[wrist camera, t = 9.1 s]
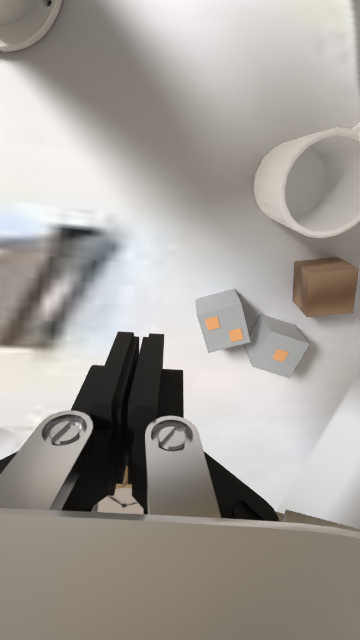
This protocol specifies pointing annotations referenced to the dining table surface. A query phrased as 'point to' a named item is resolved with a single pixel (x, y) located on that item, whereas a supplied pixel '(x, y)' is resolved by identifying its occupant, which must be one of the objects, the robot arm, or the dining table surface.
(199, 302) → the block two
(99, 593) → the robot arm
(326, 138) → the mug
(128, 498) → the alarm clock
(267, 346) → the block one
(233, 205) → the dining table surface
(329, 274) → the plain block
